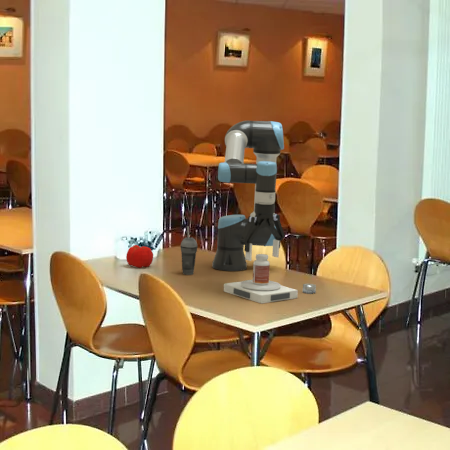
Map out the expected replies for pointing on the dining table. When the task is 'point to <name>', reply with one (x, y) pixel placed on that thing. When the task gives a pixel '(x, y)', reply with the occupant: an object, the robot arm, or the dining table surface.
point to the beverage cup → (188, 254)
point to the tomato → (139, 256)
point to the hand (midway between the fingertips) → (262, 258)
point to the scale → (260, 291)
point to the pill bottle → (261, 270)
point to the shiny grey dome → (309, 288)
